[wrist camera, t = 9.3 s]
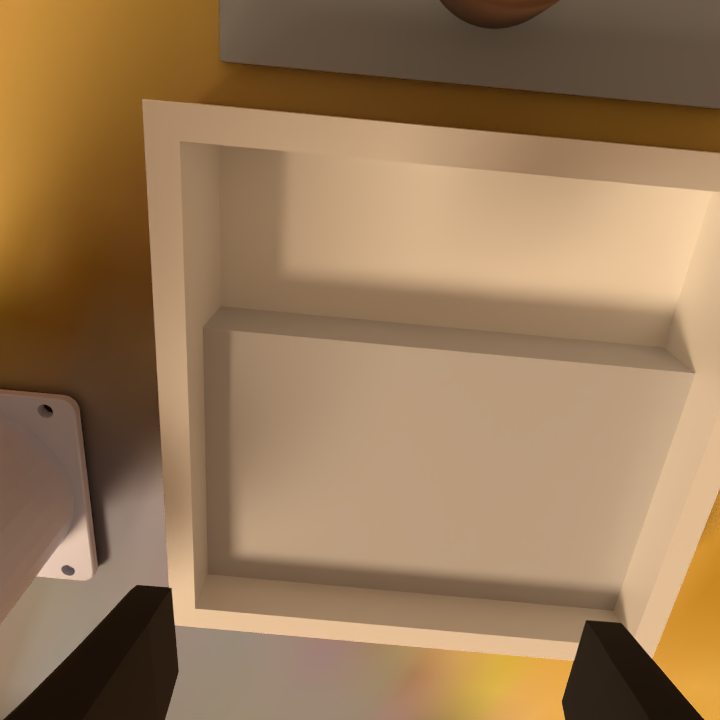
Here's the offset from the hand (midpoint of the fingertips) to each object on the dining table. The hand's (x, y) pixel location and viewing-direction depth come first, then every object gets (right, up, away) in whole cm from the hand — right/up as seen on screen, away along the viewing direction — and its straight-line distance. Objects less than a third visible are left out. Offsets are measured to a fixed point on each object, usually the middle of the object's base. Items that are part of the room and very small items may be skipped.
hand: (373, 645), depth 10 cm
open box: (+2, +4, +9) cm, 10 cm away
